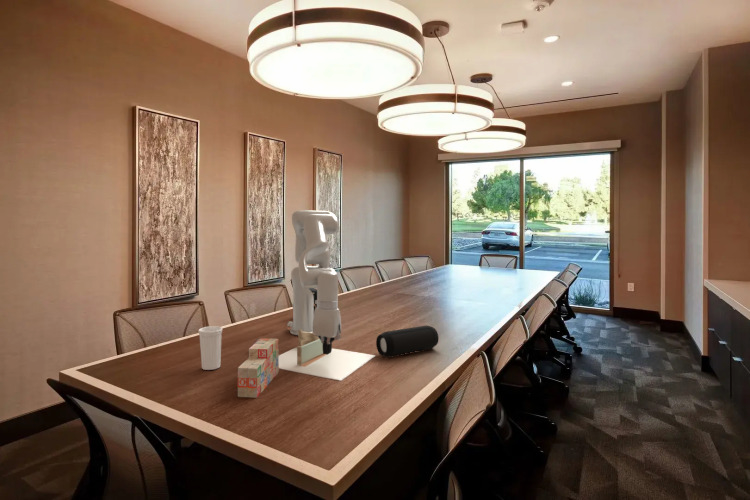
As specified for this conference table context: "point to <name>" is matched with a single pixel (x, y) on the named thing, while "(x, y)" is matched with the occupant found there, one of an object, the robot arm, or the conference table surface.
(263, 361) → the stack of blocks
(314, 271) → the robot arm
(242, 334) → the conference table surface
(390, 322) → the conference table surface
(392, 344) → the portable speaker
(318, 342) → the folding fence panel
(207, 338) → the cup
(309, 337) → the fixed fence section
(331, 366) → the card
